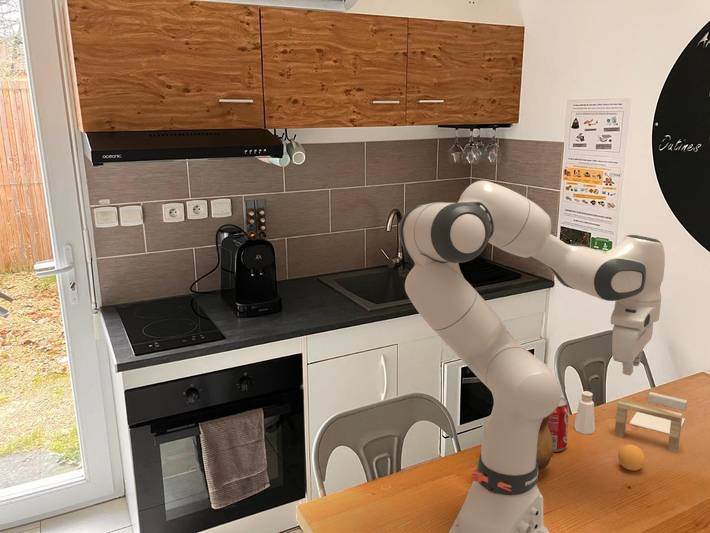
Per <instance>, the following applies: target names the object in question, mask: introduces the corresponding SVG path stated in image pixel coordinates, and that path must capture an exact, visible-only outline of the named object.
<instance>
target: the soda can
mask: <svg viewBox="0 0 710 533" xmlns="http://www.w3.org/2000/svg"><path fill="white" fill-rule="evenodd" d="M569 410H570V408H569V404H568V400H567V399H565V398H564V397H562V396H561V400H560V403H559V405H558V407H557V408H556V409H555V411H554V412H553V413H551V414H550V417H549V420H548V428H549V431H550V433H551V437H552V440H553V453H554V452H555V453H557V452H562V451H563V450H565V449H566V447H567V446H568V430H569V429H568V428H569V412H570V411H569Z"/></svg>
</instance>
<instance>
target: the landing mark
mask: <svg viewBox="0 0 710 533" xmlns="http://www.w3.org/2000/svg"><path fill="white" fill-rule="evenodd" d="M685 421H686V418H684V417H682V423H681V428H682V426H683V425H684V422H685ZM629 425H633V426H637V427H641V428H645V429H648V430H652V431H657V432H659V433H662V434H666V435H669V434H670V425H671V420H668V419H664V418H660V417H656V416H652V415H648V414H644V413H640V412H636V411H635V414H634V415H633V417H632V418H631V420H630V421H629Z"/></svg>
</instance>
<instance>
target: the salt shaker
mask: <svg viewBox="0 0 710 533" xmlns="http://www.w3.org/2000/svg"><path fill="white" fill-rule="evenodd" d="M593 396H594V395H593V393H592V392H591V391H587V390H585V391H582V392H581V399H580V400H579V401H578V406H577V410H576V415H575V420H574V421H575V422H574V426H573V428H574V429H575V431H576V432H577V433H581V434H583V435H592V434H593V433H594V432H596V428H595V427H596V425H595V421H596V420H595V402H594V401H593Z"/></svg>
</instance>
